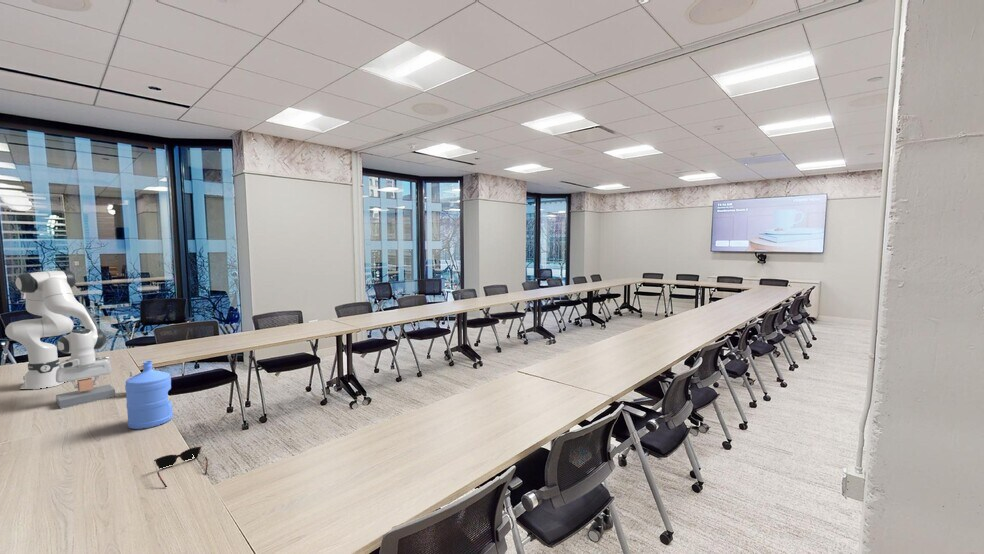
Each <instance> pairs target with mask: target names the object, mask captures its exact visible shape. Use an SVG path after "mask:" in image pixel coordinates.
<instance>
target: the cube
mask: <svg viewBox="0 0 984 554" xmlns="http://www.w3.org/2000/svg"><path fill="white" fill-rule="evenodd" d="M92 378H93V377H89V378H83V379H78V380H76V381H77V383H76V384H78V385H79V388H77V391H79V392H81V391H86V390H91V389H93V388H94V385H93V381H94V379H92Z"/></svg>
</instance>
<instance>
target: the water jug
mask: <svg viewBox="0 0 984 554" xmlns="http://www.w3.org/2000/svg"><path fill="white" fill-rule="evenodd" d="M142 365H143V367H142V368H143V370H142V371H141V372H139V373H137V374H134V376H133V377H131V378H130V377H129V378H128V379H126V381H125V384H124V385H125V386H124V387H125V394H126V395H125V398H126V411H127V427H128V428H129V429H131V428H132V429H133V430H143V428H145V429H150V428H149V427H151V428H155V427H158V426H161V425H164V424H166V423H169V422H170V421H171V420H172V419H173V418H174V412H173V403H172V401H170V400H169V391H170V390H171V389H172V378H171V377H172V376H171V373H169V372H166V371H159V370H154V369H153V361H152V360H146V361H143V362H142ZM169 417H170V418H169ZM170 419H171V420H170ZM163 423H164V424H163ZM160 424H161V425H160ZM154 426H155V427H154ZM132 429H131V430H132Z"/></svg>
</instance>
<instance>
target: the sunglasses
mask: <svg viewBox="0 0 984 554" xmlns="http://www.w3.org/2000/svg"><path fill="white" fill-rule="evenodd" d="M201 451H202V453H203V456H204V459H205V463H206V464H205V465H206V466H205V471H204V475H205V474H206V475H207V472H208V465H209V462H208V461H209V460H208V458H207V456H206V454H205V452H204V449H203V448H202V446H195V447H192V448H188V449H186V450H183V451H182V452H180V453H179V454H166V455H164V456H160V457H158V458H155V459H154V460H153V462H154V465H155V470H156V474H157V476H158V478H159V480H160V482H161V483H162V485H163V486H164V488H165V487H168V486H167V484H166V483H165V481H164V479H163V478H162V476H161V475H160V473H159V471H158V468H159V470H161V469H160V468H163V467H166V466H169V465H173V464H174V465H175V463H177V459H178V458H180V459H181V460H182V461H183V462H184V461H185V460H188V459H192V457H193V455H194V457H195V458H196V459H198V457H199V454H200V453H201ZM192 454H193V455H192ZM196 459H195V460H196ZM174 465H173V466H174Z"/></svg>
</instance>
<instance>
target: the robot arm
mask: <svg viewBox="0 0 984 554" xmlns="http://www.w3.org/2000/svg"><path fill="white" fill-rule="evenodd" d="M76 284H77V278H76V275H75V274H74V272H72V271H70V270H64V269H63V270H44V271H37V272H25V273H21V274H19V275H17V276H16V279H15V287H16V288H17V290H18V291H19V292H22V293H25V310H26V311H27V312H28V313H29V314H31V315H35V316H38V317H40V318H33V319H31V318H30V319H22V320H18V321H12V322H10V323H8V325H6V327H5V329H4V332H5V333H4V334H5V335H6V336H7V338H9V339H10V340H12V341H15V342H16V343H17V342H18V343H19V344H21V345H22V346H23V347H24V349H25V350H26V352H27V357H28V359H27V360H28V363H27V370H28V371H27V372H26V373H24V375H23V377H22V379H23V384H22V385H21V387H20V389H33V390H40V388H42V389H46V387H48V388H52V387H56V386H59V385H62V384H65V383H67V381H68V382H70V383H71V384H72V385H73V389H78V388H79V385H78V383H75V382H76V381H77V380H82V379H87V378H94V379H93V386H95V385H97V381H98V380H99V379H100V377H99V376H105V375H109V374H111V373H112V365H111V363H112V358H111V357H108V356H103V357H97V358H96V351H95V350H99V349H101V348H103V347H104V346H105V345H106V343H107V341H108V340H107V336H106V334H105V333H104V332H103V330H102V329H101V328H100V326H99V325H98V323H97V321H96V320H95V318H94V316H93V315H92V313H91V311H90V310H89V308H88V307H87V306H86V305H85V304H82V303H80V302H79V301H78V300H77V299H76V298H75V295H74V292H73V290H72V288H73V287H75V286H76ZM68 316H70V317H74V318H76V319H78V320H79V321H80V323H82V325H83V326H84V328H77V329H74V326H75V325H74V321H73V320H72V319H71V318H70V317H68ZM56 336H58V337H59V336H61V337H60V338H59V339H57V341H56V345H55V344H53V343H49V342H44V341H41V338H49V337H56ZM58 351H59V352H61V353H62V354H70V358H68V359H67V358H66V359H65V360H62V361H60V358H59V357H58V356H59V355H58ZM64 382H65V383H64ZM20 389H19V390H20Z"/></svg>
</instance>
